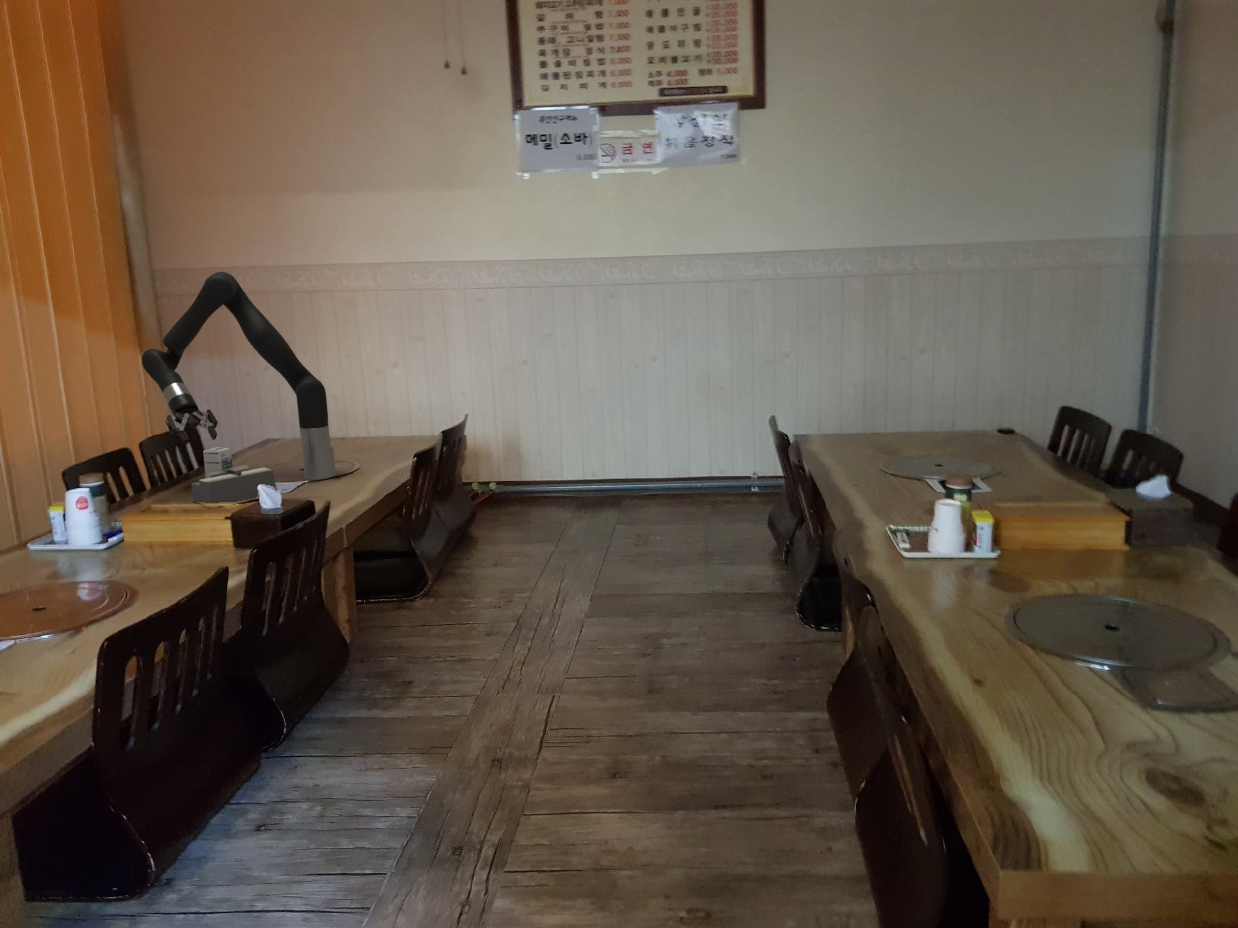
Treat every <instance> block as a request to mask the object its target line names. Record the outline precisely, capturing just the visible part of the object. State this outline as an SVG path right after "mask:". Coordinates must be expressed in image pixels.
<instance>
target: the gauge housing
mask: <svg viewBox="0 0 1238 928" xmlns="http://www.w3.org/2000/svg"><path fill="white" fill-rule="evenodd" d="M259 484H265V485H270V486H273V487H275V488H276V481H275V471H274V469H273V468H268V467H260V468H259V467H258V468H253V469H249V470H248V471H243V472H242V474H241V475H237V474H233V473H232V474H227V475H222V476H217V477H212V478H206V477H205V478H203V479H198V481H196V482H192V483H191V490H192V491H191V492H192V499H193V502H194V501H195V502H194V503H196V502H205V503H219V502H238V501H243V500H248V499H253V498H256V497H257V496H258V490H257V486H258V485H259Z"/></svg>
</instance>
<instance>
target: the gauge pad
mask: <svg viewBox="0 0 1238 928" xmlns="http://www.w3.org/2000/svg"><path fill="white" fill-rule="evenodd" d="M248 470H250V468H249V465H248V464H241V465H238V466H232V467H231V468H226V469H221V470H215V471H210V472H207V476H208V478H212V477H217V476H222V475H227V474H232V473H233V474H237V475H241V474H242V472H243V471H248Z"/></svg>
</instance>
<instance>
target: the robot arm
mask: <svg viewBox="0 0 1238 928" xmlns="http://www.w3.org/2000/svg"><path fill="white" fill-rule="evenodd" d="M222 306H224V307H225V308H226V309H227V310H228V311H229V312H230V313H231V314H232V315H233V317H234V318H235V320H236V321H237V324H238V325H239V327H240V329H241V331H242V333H243V335H244V337H245V338H246V340H247V342H248V343H249V344H250V346H252V348H253V349H254V350H255V351H256V352H257V353H258V355H259V356H260V357H261V358H262V359H263V360H264V361H265V362H266V363H267V364H269V365H270V366H271V367H272V368H273V369H274V370H275V371H277V372H278V373H279V374H280V375H281V376H282V377H283V378H284V380H285V381H286V382H287V384H288V385H289V386H290V388H291V389H292V391H293V393H294V394H295V396H296V404H297V414H298V415H297V416H298V425H299V434H300V435H299V436H300V444H301V453H302V455H301V456H302V464H303V471H304V473H303V475H304V479H305V480H309V481H310V480H311V481H316V480H317V481H318V480H320V481H321V480H325V479H329V478H333V477H335V476H337V470H336V460H335V449H334V448H333V446H331V445H332V444H331V434H330V426H329V412H328V400H327V393H326V392H327V391H326V388H325V385H324V384H323V382H322V381H321V380H320V379H318V378H317V377H316V376H315V375H314V374H312V372H311V371H309V369H307V368H306V366H304V364H303V363H302V362H301V361H300V360H299V358H298V357H297V356H296V354H295V352H294V351H293V349H292V348H291V346H290V344H288V342H287V341H286V339H285V338H284V337H283V336H282V334H281V333H280V332H279V331H278V329H277V328H276V327H275V326H274V325H273V324H272V323H271V322H270V321H269V320H268V318H267V317H266V315H264V314H263V313H262V311H260V309H258V307H257V306H255V304H254V303H253V301H252V300H251V299H250V298H249V296H248V295H247V294H246V292H245V291H244V289H243V288H242V286H241V285H240V284H239V281H237V279H236V278H235V277H234V276H233V275H232V274H230V273H229V272H226V271H218V272H214V273H212V274H211V275H209V276H208V277H207V278H206V279H205V280H204V283H203V285H202V286H201V289H200V291H199V293H198V294H197V296H196V298H195V299H194V301H193V302H192V304H191V305H190V306H189V308H188V309H187V310H186V311H185V312H184V313H183V315H182V316H181V317H180V318H179V319H178V320H177V321H176V322H175V323H174V325H173V326H172V327H171V328H170V330H169V331H168V332H167V333H166V334H165V335H164V337H163V338H162V343H163V345H164V346H165V347H166V348H167V349H166V350H165V351H162V350H159V349H156V348H149V349H147V350H145V351H144V352H143V354H142V355H141V364H142V367H143V369H144V371H145V372H146V373H147V374H148V375H149V377H151V379H152V380H153V381H154V382H155V383H156V384H157V385H158V387H159V389H160V391H161V393H162V395H163V397H164V401H165V402H166V405H168V409H170V412H171V413H172V415H170V414H168V415H166V418H165V424H166V426H167V428H168V431H169V432H170V434H171V435H172V436H174V435H175V436H176V435H177V436H179V439H180V440H181V442H182V443H183V444H185V445H188V444H189V442H190V438H189V435H188V434H187V432H186V431H185V430H184V429H185V428H187V429H190V428H193V427H194V428H195V427H197V428H198V427H200V428H201V429H205V430H207V432H208V434H209V437H210V438H211V440H216V439H217V437H218V433H217V431H216V429H217V426H218V424H219V421H218V420H217V418H216V417H215V415H214V414H213V412H212V410H211V409H207V410H206V411H201V410H200V409H199V407H198V404H197V403H196V400H195V399H194V397H193V395H192V394H191V391H190V390H189V389H188V387H187V386H186V384H185V383H184V380H183V379H182V377H181V375H180V374H179V373H178V372H177V371H176V370H177V368H178V366H179V364H180V361H181V359H182V357H183V354H184V352H185V351H186V349H187V348H188V346H190V344H191V343H192V342H193V341H194V340H195V338H196V337H197V335H198V334H199V333H200V331H201V329H202V327H203V326H204V325H205V323H206V322H207V320H208V319H209V318H210V317H211V316H212V315H213V314H214V313H215V312H216V311H217V310H218V309H220V308H221V307H222ZM175 422H176V423H177V424H180V426H179V428H177V426H176V424H175Z"/></svg>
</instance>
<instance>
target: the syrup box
mask: <svg viewBox="0 0 1238 928" xmlns="http://www.w3.org/2000/svg"><path fill="white" fill-rule="evenodd" d="M202 452H203V461H204V471H205V472H204V473H205V479H206V478H208V476H207V472H210V471H215V470H221V469H226V468H231V467H233V459H232V457H233V456H232V449H231V447H222V446H218V447H213V448H210V449H205V450H203V451H202Z"/></svg>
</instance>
